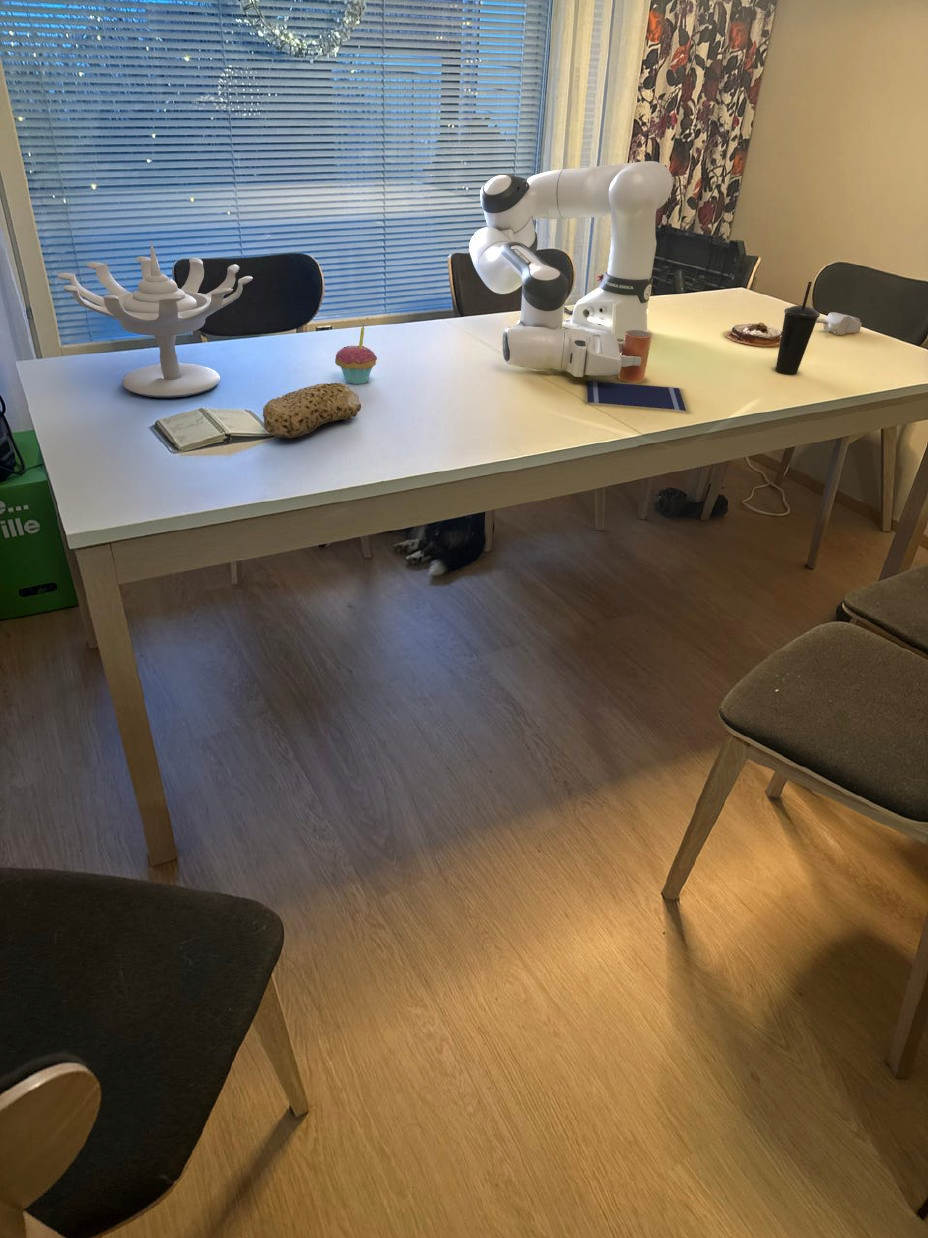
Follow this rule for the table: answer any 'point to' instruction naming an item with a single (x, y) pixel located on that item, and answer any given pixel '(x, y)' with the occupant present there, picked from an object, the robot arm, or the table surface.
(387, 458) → the table surface
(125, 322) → the candelabra
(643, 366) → the tumbler
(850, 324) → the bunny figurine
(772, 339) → the round cake
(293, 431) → the sponge
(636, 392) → the cloth
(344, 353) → the cupcake
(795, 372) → the drinking cup
